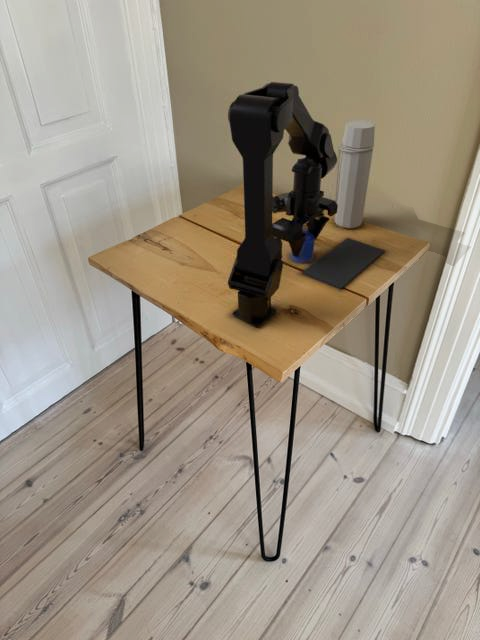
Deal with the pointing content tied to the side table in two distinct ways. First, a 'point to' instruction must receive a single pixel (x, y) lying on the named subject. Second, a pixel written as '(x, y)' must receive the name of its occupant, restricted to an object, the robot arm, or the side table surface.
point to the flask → (305, 248)
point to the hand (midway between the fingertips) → (302, 251)
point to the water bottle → (354, 172)
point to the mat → (343, 263)
